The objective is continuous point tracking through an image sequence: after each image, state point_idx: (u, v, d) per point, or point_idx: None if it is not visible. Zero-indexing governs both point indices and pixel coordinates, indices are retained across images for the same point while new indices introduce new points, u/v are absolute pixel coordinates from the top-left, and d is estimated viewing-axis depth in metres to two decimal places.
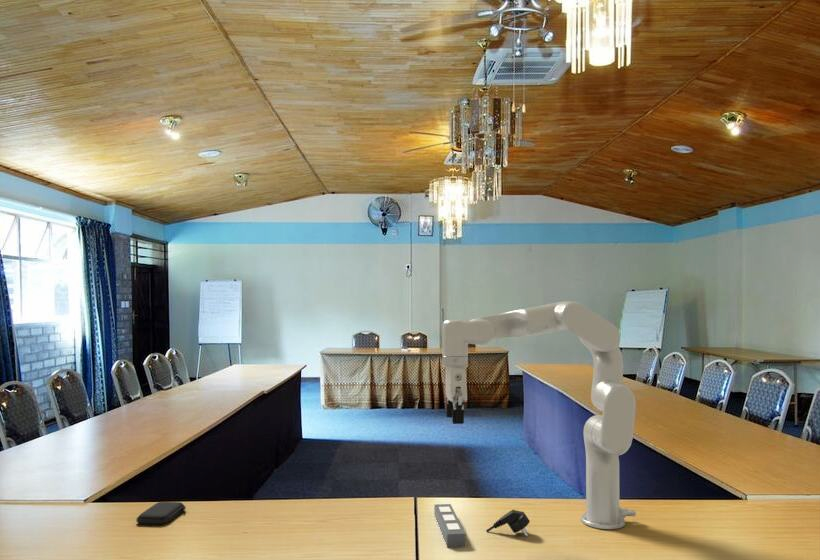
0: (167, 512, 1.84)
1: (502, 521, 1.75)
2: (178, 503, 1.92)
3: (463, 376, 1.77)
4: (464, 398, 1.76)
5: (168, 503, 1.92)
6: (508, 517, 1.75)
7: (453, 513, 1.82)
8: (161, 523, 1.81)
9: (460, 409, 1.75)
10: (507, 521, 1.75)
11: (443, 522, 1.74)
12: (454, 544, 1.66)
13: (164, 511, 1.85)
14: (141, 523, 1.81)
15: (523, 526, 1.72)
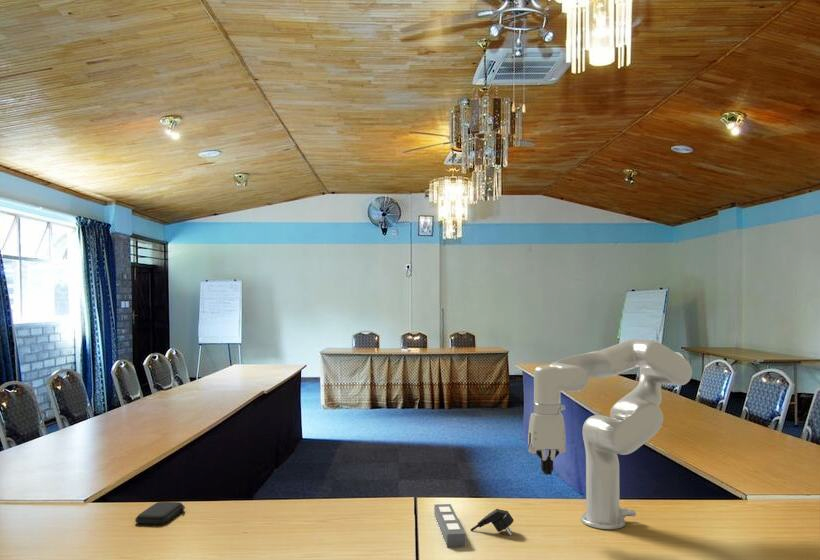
0: (166, 512, 1.84)
1: (486, 520, 1.76)
2: (177, 503, 1.92)
3: None
4: None
5: (167, 503, 1.92)
6: (492, 516, 1.75)
7: (453, 513, 1.82)
8: (160, 523, 1.81)
9: None
10: (491, 520, 1.76)
11: (443, 522, 1.74)
12: (454, 544, 1.66)
13: (162, 511, 1.85)
14: (140, 523, 1.81)
15: (507, 525, 1.73)
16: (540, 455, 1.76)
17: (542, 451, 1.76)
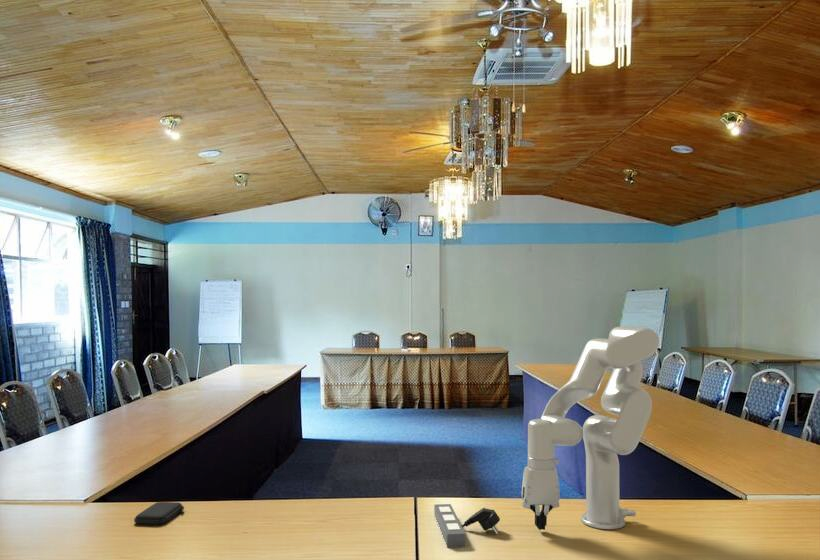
0: (165, 512, 1.84)
1: (473, 519, 1.77)
2: (176, 503, 1.92)
3: None
4: None
5: (166, 503, 1.92)
6: (479, 515, 1.76)
7: (453, 513, 1.82)
8: (158, 523, 1.81)
9: None
10: (478, 519, 1.76)
11: (443, 522, 1.74)
12: (454, 544, 1.66)
13: (161, 511, 1.85)
14: (139, 523, 1.81)
15: (493, 524, 1.74)
16: (534, 510, 1.75)
17: (536, 506, 1.75)
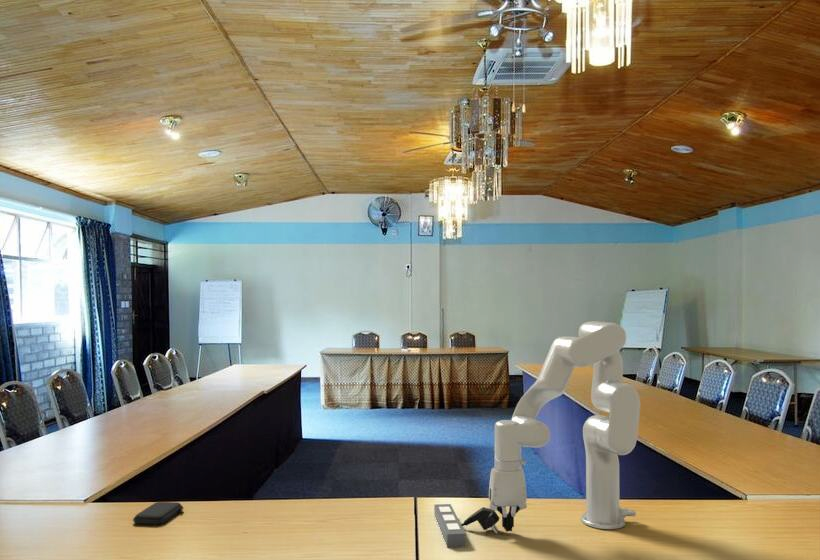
0: (164, 512, 1.84)
1: (472, 518, 1.77)
2: (176, 503, 1.92)
3: None
4: None
5: (166, 503, 1.92)
6: (478, 514, 1.77)
7: (453, 513, 1.82)
8: (157, 523, 1.81)
9: None
10: (477, 518, 1.77)
11: (443, 522, 1.74)
12: (454, 544, 1.66)
13: (160, 511, 1.85)
14: (138, 523, 1.81)
15: (492, 523, 1.74)
16: (501, 511, 1.75)
17: (502, 507, 1.74)
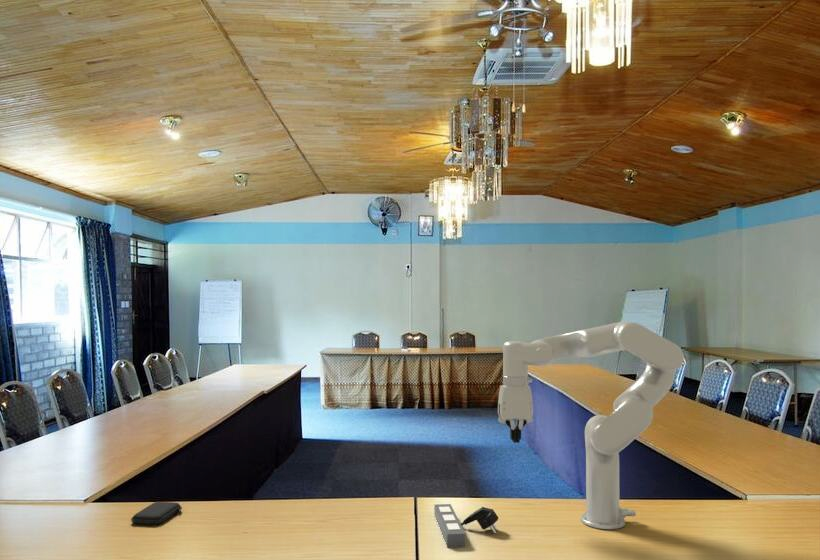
0: (162, 512, 1.84)
1: (471, 518, 1.78)
2: (174, 503, 1.92)
3: None
4: None
5: (164, 503, 1.92)
6: (477, 514, 1.77)
7: (453, 513, 1.82)
8: (155, 523, 1.81)
9: None
10: (476, 518, 1.77)
11: (443, 522, 1.74)
12: (454, 544, 1.66)
13: (158, 511, 1.85)
14: (136, 523, 1.81)
15: (491, 523, 1.75)
16: (509, 424, 1.88)
17: (511, 421, 1.87)
